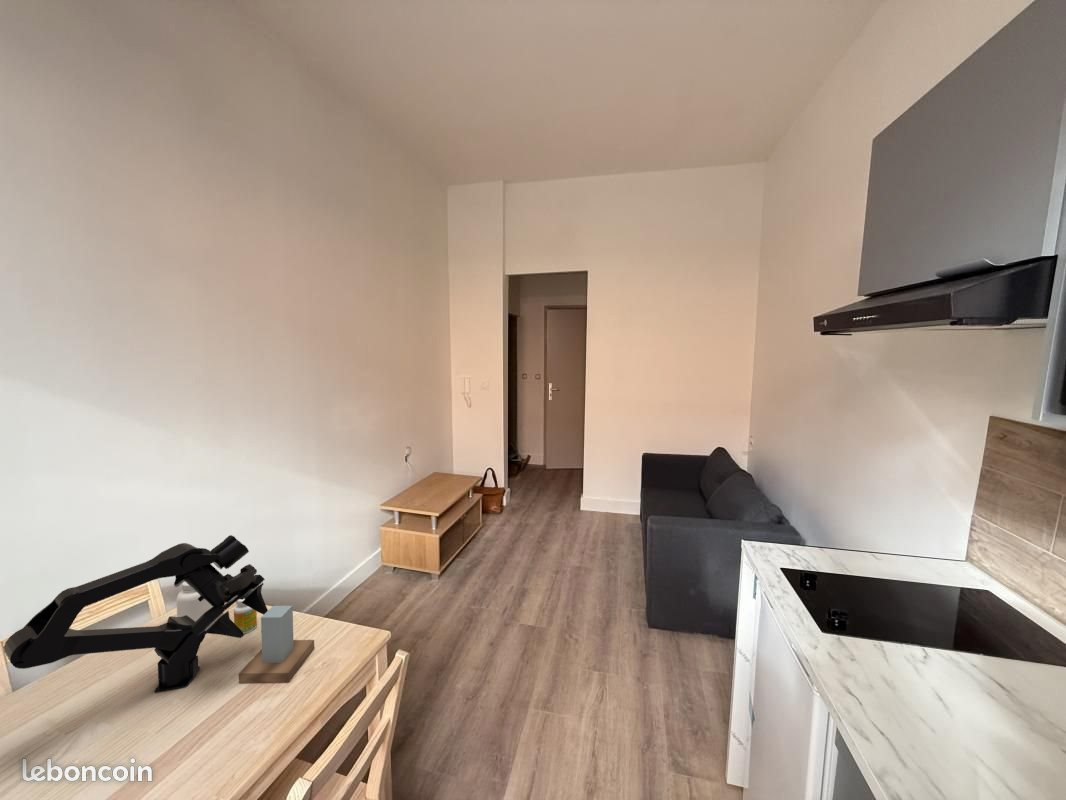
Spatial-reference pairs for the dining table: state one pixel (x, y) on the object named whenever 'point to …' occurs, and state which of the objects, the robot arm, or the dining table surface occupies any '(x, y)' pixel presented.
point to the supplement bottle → (245, 617)
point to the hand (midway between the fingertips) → (255, 624)
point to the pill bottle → (191, 603)
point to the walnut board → (277, 665)
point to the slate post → (277, 634)
